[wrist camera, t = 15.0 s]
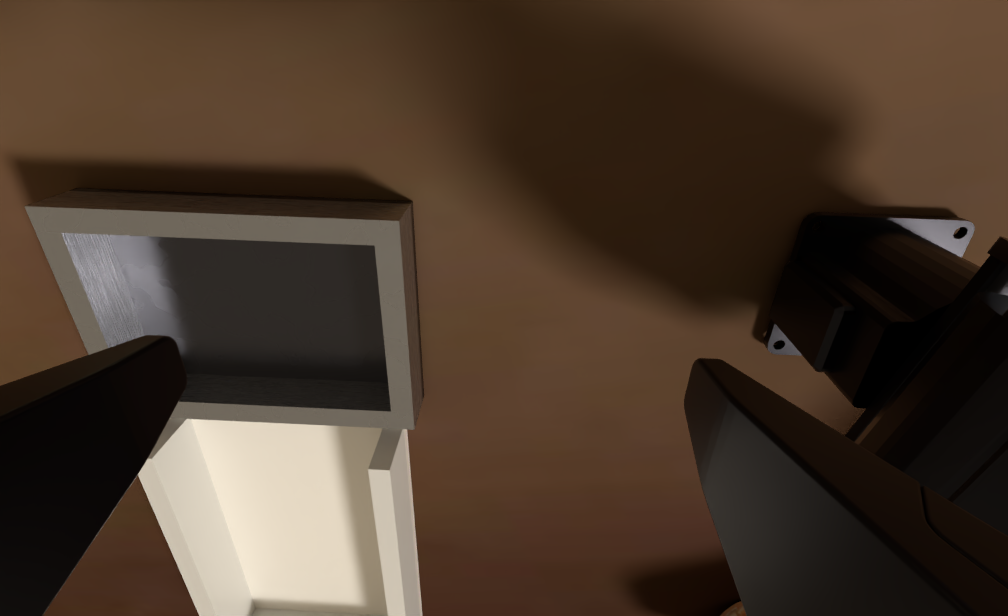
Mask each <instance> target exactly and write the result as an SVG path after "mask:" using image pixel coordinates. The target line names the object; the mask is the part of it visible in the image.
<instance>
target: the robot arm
mask: <svg viewBox="0 0 1008 616" xmlns="http://www.w3.org/2000/svg"><path fill="white" fill-rule="evenodd" d="M820 221H821V224H820V226H819V228H817V229H816V230H812V227H813V225H814V224H815V223H817V222H820ZM958 228H960V230H959V231H958V232H957V233H956V234H955V235H953V234H954V232H955V230H956V229H958ZM974 230H975V228H974V224H973V223H972V222H970V221H968V220H965V219H963V218H959V217H933V216H907V215H881V214H855V213H829V212H815V213H812V214H810V215H808V216H807V217H806V218H805V219H804V220H803V222H802V224H801V227H800V230H799V233H798V236H797V239H796V242H795V245H794V248H793V252H792V255H791V258H790V261H789V262H788V263H787V264H786V265H785V267H784V270H783V273H782V276H781V279H780V282H779V285H778V288H777V292H776V295H775V298H774V301H773V304H772V307H771V311H770V314H769V317H770V318H771V320H770V323H769V326H768V330H767V333H766V336H765V339H764V344H765V346H766V348H767V349H768V350H769V351H770V352H771V353H773V354H782V355H802V356H803V357H804V358H805V359H806V360H807V361H808V363H809V364H810V365H811V366H812V367H813V368H814V370H815V371H817V372H824V373H825V374H826V375H827V376H828V377H829V379H830V380H831V381H832V382H833V383H834V384H835V385H836V387H837V388H838V389H839V390H840V391H841V392H842V393H843V394H844V396H845V397H846V398H847V399H848V400H849V401H850V402H851V404H852V405H853V406H854V407H857V408H867V409H866V410H865V411H864V413H863V414H862V415H861V416H860V418H859V419H858V420H857V421H856V423H855V424H854V425H853V426H852V428H851V429H850V430H849V431H848V432H847V434H846V435H845V436H844V435H842V434H841V433H839V432H837V431H836V430H834V429H833V428H831V427H829V426H828V425H826V424H824V423H823V422H821V421H820V420H818V419H816V418H815V417H813V416H812V415H810V414H808V413H807V412H805V411H803V410H802V409H800V408H799V407H797V406H795V405H794V404H792V403H791V402H789V401H787V400H786V399H784V398H782V397H781V396H779V395H778V394H776V393H774V392H773V391H771V390H770V389H768V388H766V387H765V386H763V385H762V384H760V383H758V382H757V381H755V380H753V379H752V378H750V377H749V376H747V375H745V374H744V373H742V372H741V371H739V370H737V369H736V368H734V367H733V366H731V365H729V364H728V363H726V362H724V361H723V360H720V359H706V358H699V359H697V360H696V361H695V362H694V364H693V366H692V369H691V373H690V377H689V381H688V385H687V390H686V394H685V399H684V409H685V414H686V419H687V423H688V428H689V432H690V437H691V441H692V446H693V450H694V455H695V459H696V464H697V468H698V473H699V477H700V481H701V485H702V489H703V492H704V495H705V498H706V502H707V505H708V507H709V510H710V513H711V516H712V519H713V522H714V525H715V527H716V530H717V533H718V536H719V539H720V542H721V545H722V547H723V550H724V553H725V556H726V559H727V562H728V564H729V567H730V570H731V573H732V576H733V579H734V582H735V584H736V587H737V590H738V593H739V596H740V599H741V602H742V604H743V607H744V610H745V613H746V616H1008V239H1007V238H1004V237H999V239H998V240H997V241H996V242H995V244H994V245H993V246H992V247H991V249H990V250H989V251H988V252H987V253H988V254H990V256H989V258H988V259H987V260H986V261H985V263H984V264H983V265H982V266H981V267H979V266H977V265H975V264H973V263H971V262H969V261H967V260H965V259H963V258H962V256H963V254H964V252H965V250H966V247H967V245H968V243H969V241H970V239H971V237H972V235H973V233H974ZM778 340H781V341H780V343H778V344H777V345H773V344H774V343H775V342H776V341H778ZM186 385H187V373H186V370H185V367H184V364H183V361H182V358H181V355H180V352H179V348H178V345H177V343H176V341H175V340H174V339H173V338H172V337H170V336H162V335H145V336H141V337H138V338H135V339H133V340H130V341H127V342H124V343H121V344H118V345H115V346H113V347H110V348H107V349H104V350H101V351H98V352H95V353H93V354H90V355H87V356H84V357H81V358H78V359H76V360H73V361H70V362H67V363H64V364H61V365H58V366H56V367H53V368H50V369H47V370H44V371H41V372H38V373H36V374H33V375H30V376H27V377H24V378H21V379H19V380H16V381H13V382H10V383H7V384H4V385H1V386H0V616H43V615H44V613H45V612H46V610H47V609H48V607H49V606H50V604H51V603H52V601H53V600H54V598H55V597H56V595H57V594H58V592H59V591H60V589H61V588H62V586H63V585H64V583H65V582H66V580H67V579H68V578H69V576H70V575H71V573H72V572H73V570H74V569H75V567H76V566H77V564H78V563H79V561H80V560H81V558H82V557H83V555H84V554H85V552H86V551H87V549H88V548H89V546H90V545H91V543H92V542H93V540H94V539H95V537H96V536H97V535H98V533H99V532H100V530H101V529H102V527H103V526H104V524H105V523H106V521H107V520H108V518H109V517H110V515H111V514H112V512H113V511H114V509H115V508H116V506H117V505H118V503H119V502H120V500H121V499H122V497H123V496H124V494H125V493H126V492H127V490H128V489H129V487H130V486H131V484H132V483H133V481H134V480H135V478H136V477H137V475H138V474H139V472H140V470H141V469H142V467H143V466H144V464H145V463H146V461H147V459H148V457H149V456H150V454H151V452H152V450H153V448H154V447H155V445H156V443H157V441H158V439H159V437H160V435H161V434H162V432H163V430H164V428H165V426H166V424H167V422H168V420H169V419H170V417H171V415H172V413H173V411H174V409H175V407H176V406H177V404H178V402H179V400H180V398H181V396H182V394H183V393H184V391H185V388H186Z"/></svg>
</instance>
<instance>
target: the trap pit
mask: <svg viewBox="0 0 1008 616" xmlns="http://www.w3.org/2000/svg"><path fill="white" fill-rule="evenodd" d="M25 209H26V211H27V213H28V216H29V218H30V220H31V223H32V225H33V227H34V230H35V232H36V234H37V236H38V239H39V241H40V243H41V246H42V248H43V250H44V253H45V255H46V257H47V260H48V262H49V264H50V266H51V269H52V271H53V273H54V276H55V278H56V280H57V283H58V285H59V287H60V290H61V292H62V294H63V296H64V299H65V301H66V303H67V306H68V308H69V310H70V313H71V315H72V317H73V320H74V322H75V324H76V327H77V329H78V331H79V333H80V336H81V338H82V340H83V343H84V345H85V347H86V350H87V352H88V354H89V355H90V354H93V353H95V352H98V351H101V350H104V349H107V348H110V347H113V346H115V345H118V344H121V343H124V342H127V341H130V340H133V339H135V338H138V337H141V336H145V335H162V336H170V337H172V338H173V339H174V340H175V341H176V343H177V345H178V348H179V352H180V355H181V358H182V361H183V364H184V367H185V370H186V373H187V385H186V388H185V391H184V393H183V394H182V396H181V398H180V400H179V402H178V404H177V406H176V407H175V409H174V411H173V413H172V415H171V417H170V418H179V419H200V420H221V421H242V422H263V423H285V424H306V425H327V426H348V427H369V428H390V429H411V430H414V429H415V426H416V422H417V419H418V415H419V411H420V408H421V404H422V401H423V397H424V388H423V371H422V354H421V337H420V320H419V303H418V286H417V269H416V252H415V236H414V219H413V202H412V201H396V200H370V199H345V198H319V197H293V196H267V195H241V194H215V193H189V192H163V191H137V190H111V189H85V188H76V189H73V190H70V191H67V192H64V193H61V194H58V195H55V196H53V197H50V198H47V199H44V200H41V201H38V202H35V203H32V204H30V205H27V206H25Z"/></svg>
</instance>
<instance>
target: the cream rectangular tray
mask: <svg viewBox="0 0 1008 616" xmlns="http://www.w3.org/2000/svg"><path fill="white" fill-rule="evenodd" d="M138 476H139V478H140V481H141V483H142V485H143V488H144V490H145V492H146V494H147V497H148V499H149V501H150V504H151V506H152V508H153V511H154V513H155V515H156V517H157V520H158V522H159V524H160V527H161V529H162V531H163V533H164V536H165V538H166V540H167V543H168V545H169V547H170V549H171V552H172V554H173V556H174V559H175V561H176V563H177V565H178V568H179V570H180V572H181V575H182V577H183V579H184V582H185V584H186V586H187V588H188V591H189V593H190V595H191V598H192V600H193V602H194V604H195V607H196V609H197V611H198V614H199V616H422V605H421V593H420V581H419V569H418V557H417V544H416V532H415V520H414V508H413V496H412V484H411V471H410V459H409V447H408V435H407V429H390V428H369V427H348V426H327V425H306V424H285V423H263V422H242V421H221V420H200V419H179V418H170V419H169V420H168V422H167V424H166V426H165V428H164V430H163V432H162V434H161V435H160V437H159V439H158V441H157V443H156V445H155V447H154V448H153V450H152V452H151V454H150V456H149V457H148V459H147V461H146V463H145V464H144V466H143V467H142V469H141V470H140V472H139V474H138Z"/></svg>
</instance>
